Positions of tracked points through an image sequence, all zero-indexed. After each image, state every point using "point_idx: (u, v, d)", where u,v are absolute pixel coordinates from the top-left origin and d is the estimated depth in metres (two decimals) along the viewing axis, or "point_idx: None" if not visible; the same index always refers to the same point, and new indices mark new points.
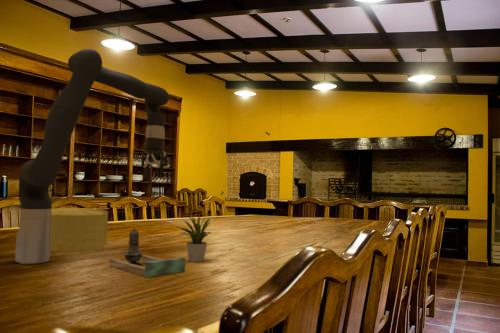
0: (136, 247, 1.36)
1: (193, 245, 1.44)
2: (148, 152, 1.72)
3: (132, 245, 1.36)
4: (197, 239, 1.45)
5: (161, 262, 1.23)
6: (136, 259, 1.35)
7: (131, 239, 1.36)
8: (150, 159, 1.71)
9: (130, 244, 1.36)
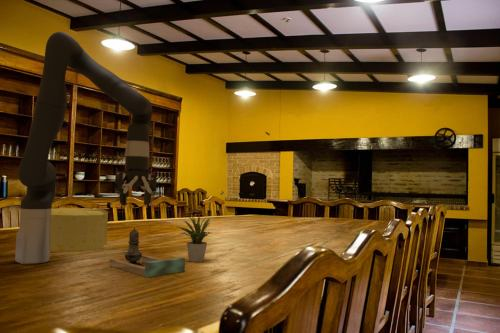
0: (136, 247, 1.36)
1: (193, 245, 1.44)
2: (131, 173, 1.36)
3: (132, 245, 1.36)
4: (197, 239, 1.45)
5: (161, 262, 1.23)
6: (136, 259, 1.35)
7: (131, 239, 1.36)
8: (135, 182, 1.37)
9: (130, 244, 1.36)
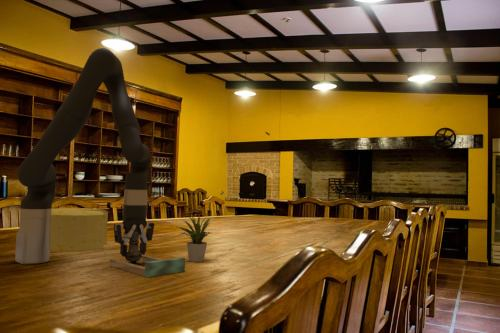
0: (136, 247, 1.36)
1: (193, 245, 1.44)
2: (129, 222, 1.35)
3: (132, 245, 1.36)
4: (197, 239, 1.45)
5: (161, 262, 1.23)
6: (136, 259, 1.35)
7: (131, 239, 1.36)
8: (134, 231, 1.36)
9: (130, 244, 1.36)
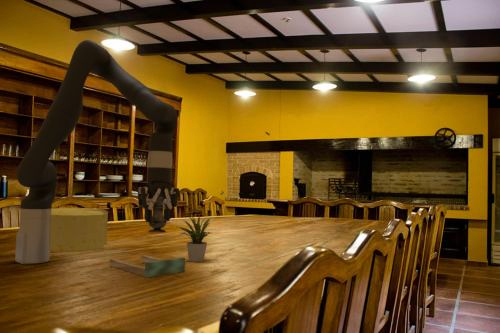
0: (161, 213, 1.28)
1: (193, 245, 1.44)
2: (153, 186, 1.27)
3: (156, 211, 1.27)
4: (197, 239, 1.45)
5: (161, 262, 1.23)
6: (161, 225, 1.27)
7: (155, 204, 1.28)
8: (159, 195, 1.28)
9: (154, 209, 1.28)
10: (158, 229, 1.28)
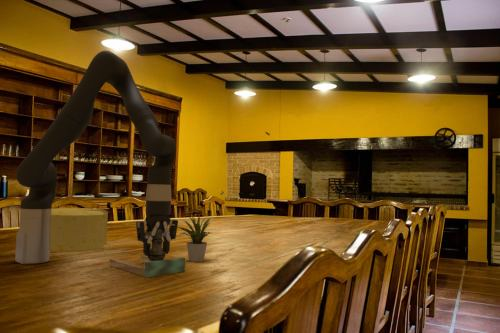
0: (160, 246, 1.28)
1: (193, 245, 1.44)
2: (152, 219, 1.26)
3: (155, 244, 1.27)
4: (197, 239, 1.45)
5: (161, 262, 1.23)
6: (160, 259, 1.27)
7: (154, 237, 1.27)
8: (158, 228, 1.28)
9: (153, 243, 1.27)
10: None
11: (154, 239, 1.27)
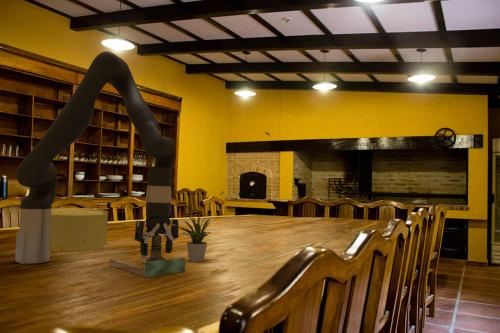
0: (159, 252, 1.27)
1: (193, 245, 1.44)
2: (152, 221, 1.26)
3: (154, 251, 1.27)
4: (197, 239, 1.45)
5: (161, 262, 1.23)
6: None
7: (154, 244, 1.27)
8: (157, 230, 1.27)
9: (152, 249, 1.27)
10: None
11: (153, 246, 1.27)
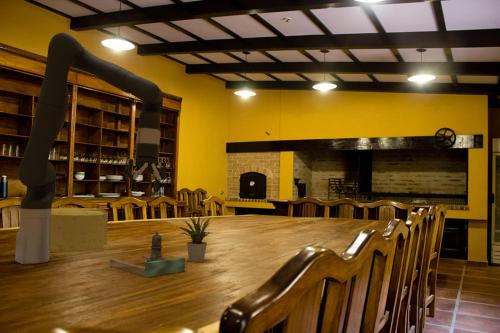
0: (159, 252, 1.28)
1: (193, 245, 1.44)
2: (141, 160, 1.38)
3: (155, 251, 1.27)
4: (197, 239, 1.45)
5: (161, 262, 1.23)
6: None
7: (154, 244, 1.27)
8: (145, 169, 1.39)
9: (153, 249, 1.27)
10: None
11: (153, 245, 1.27)
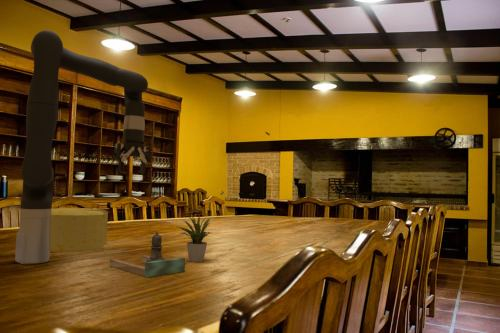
0: (159, 252, 1.27)
1: (193, 245, 1.44)
2: (128, 144, 1.53)
3: (155, 251, 1.27)
4: (197, 239, 1.45)
5: (161, 262, 1.23)
6: None
7: (154, 244, 1.27)
8: (132, 153, 1.54)
9: (153, 249, 1.27)
10: None
11: (153, 246, 1.27)
